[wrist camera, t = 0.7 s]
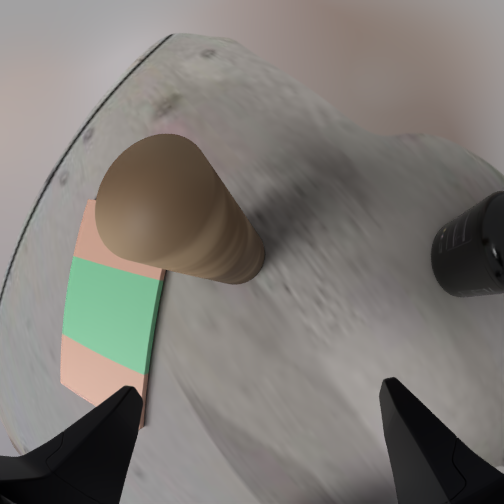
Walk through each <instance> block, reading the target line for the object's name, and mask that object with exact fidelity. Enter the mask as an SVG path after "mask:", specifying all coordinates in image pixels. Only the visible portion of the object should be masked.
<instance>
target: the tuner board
mask: <svg viewBox="0 0 504 504" xmlns="http://www.w3.org/2000/svg"><path fill="white" fill-rule="evenodd" d="M95 204H96V200H89V199H88V201H87V205H86V208H85V211H84V215H83V219H82V222H81V226H80V230H79V234H78V238H77V242H76V246H75V251H74V255H73V260H72V265H71V270H70V276H69V282H68V288H67V295H66V302H65V310H64V319H63V330H62V345H61V383H62V384H63V385H65V386H66V387H67V388H69V389H70V390H72V391H73V392H75V393H76V394H78V395H79V396H81V397H82V398H84V399H85V400H87V401H88V402H90V403H92V404H93V405H95V406H96V407H97V406H98V405H99V404H101V403H102V402H103V401H105V400H106V399H107V398H109V397H110V396H111V395H113V394H114V393H115V392H116V391H118V390H119V389H120V388H122V387H123V386H125V385H128V386H133V387H135V388H136V390H137V391H138V393H139V394H140V396H141V397H142V399H143V409H142V414H141V420H140V425H139V430H140V429H141V428H143V425H144V412H145V401H146V391H147V382H148V373H149V365H150V358H151V351H152V344H153V337H154V331H155V325H156V319H157V313H158V307H159V302H160V297H161V292H162V286H163V281H164V277H165V272H166V270H165V269H161V268H157V267H153V266H149V265H145V264H141V263H137V262H133V261H129V260H126V259H123V258H120V257H118V256H116V255H115V254H113V253H112V252H111V251H110V250H109V249H108V248H107V247H106V246H105V245H104V243H103V241H102V240H101V238H100V236H99V233H98V230H97V227H96V221H95Z"/></svg>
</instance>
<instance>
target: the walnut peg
mask: <svg viewBox="0 0 504 504" xmlns="http://www.w3.org/2000/svg"><path fill="white" fill-rule="evenodd" d="M95 221H96V227H97V230H98V233H99V236H100V238H101V240H102V241H103V243H104V245H105V246H106V247H107V248H108V249H109V250H110V251H111V252H112V253H113V254H115V255H116V256H118V257H120V258H123V259H126V260H129V261H133V262H137V263H141V264H145V265H149V266H153V267H157V268H161V269H165V270H170V271H174V272H178V273H182V274H187V275H191V276H195V277H200V278H204V279H209V280H213V281H218V282H222V283H227V284H242V283H245V282H247V281H249V280H251V279H252V278H254V277H255V276H256V275H257V274H258V272H259V271H260V269H261V268H262V265H263V262H264V258H265V250H264V245H263V242H262V240H261V238H260V237H259V235H258V234H257V232H256V231H255V229H254V228H253V226H252V225H251V223H250V222H249V220H248V219H247V217H246V216H245V214H244V213H243V211H242V210H241V208H240V207H239V206H238V204H237V203H236V201H235V200H234V198H233V197H232V195H231V194H230V192H229V191H228V189H227V188H226V186H225V185H224V183H223V182H222V180H221V179H220V178H219V176H218V175H217V173H216V172H215V170H214V169H213V167H212V166H211V164H210V163H209V161H208V160H207V159H206V157H205V156H204V154H203V153H202V151H201V150H200V149H199V148H198V147H197V145H196V144H194V143H193V142H192V141H190V140H189V139H187V138H185V137H182V136H179V135H175V134H158V135H154V136H150V137H147V138H144V139H142V140H140V141H138V142H136V143H135V144H133V145H132V146H130V147H129V148H128V149H126V150H125V151H124V152H123V153H122V154H121V155H120V156H119V157H118V158H117V159H116V160H115V161H114V162H113V164H112V165H111V166H110V168H109V169H108V171H107V173H106V174H105V176H104V178H103V180H102V182H101V185H100V187H99V190H98V194H97V198H96V204H95Z"/></svg>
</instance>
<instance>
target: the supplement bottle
mask: <svg viewBox="0 0 504 504" xmlns="http://www.w3.org/2000/svg"><path fill="white" fill-rule="evenodd" d="M431 262H432V268H433V272H434V275H435V277H436V279H437V281H438V283H439V284H440V286H441V287H442V288H443V289H444V290H445V291H446V292H447V293H449V294H451V295H453V296H456V297H473V296H484V295H493V294H502V293H504V191H498V192H495V193H493V194H491V195H490V196H488V197H487V198H485V199H484V200H482V201H481V202H479V203H478V204H476V205H475V206H473V207H472V208H470V209H469V210H467V211H466V212H464V213H463V214H461V215H460V216H458V217H457V218H455V219H454V220H452V221H451V222H449V223H448V224H446V225H445V226H443V227H442V228H441V229H440V230H439V232H438V233H437V235H436V237H435V239H434V241H433V245H432V251H431Z"/></svg>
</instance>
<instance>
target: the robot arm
mask: <svg viewBox="0 0 504 504" xmlns="http://www.w3.org/2000/svg"><path fill="white" fill-rule="evenodd" d="M379 400H380V406H381V414H382V421H383V430H384V436H385V441H386V445H387V449H388V454H389V458H390V463H391V467H392V472H393V477H394V482H395V487H396V492H397V498H398V504H504V474H503V473H501V472H500V471H498V470H497V469H496V468H494V467H493V466H492V465H490V464H489V463H487V462H486V461H485V460H483V459H482V458H481V457H479V456H478V455H477V454H475V453H474V452H473V451H472V450H471V449H470V448H468V447H467V446H466V445H465V444H464V443H463V442H462V441H461V440H460V439H459V438H457V436H456V435H455V434H454V433H453V432H452V431H451V430H450V429H449V428H448V427H447V426H445V425H444V424H443V423H442V422H441V421H440V420H439V419H438V418H437V417H436V416H435V415H434V414H433V413H432V412H431V411H430V410H429V409H428V408H427V407H426V406H425V405H424V404H423V403H422V402H421V401H420V400H419V399H418V398H416V397H415V396H414V395H413V394H412V393H411V392H410V391H409V390H408V389H407V388H406V387H405V386H404V385H403V384H402V383H401V382H400V381H399V380H398V379H397V378H395V377H391V378H387V379H384V380H383V382H382V386H381V390H380V393H379ZM142 409H143V399H142V397H141V396H140V394H139V393H138V391H137V390H136V388H135V387H133V386H128V385H125V386H123V387H122V388H120V389H119V390H118V391H116V392H115V393H114V394H113V395H111V396H110V397H109V398H107V399H106V400H105V401H103V402H102V403H101V404H99V405H98V406H97V407H95V408H94V409H93V410H91V411H90V412H89V413H87V414H86V415H85V416H83V417H82V418H81V419H79V420H78V421H77V422H75V423H74V424H72V425H71V426H70V427H68V428H67V429H66V430H64V431H63V432H61V433H60V434H59V435H57V436H56V437H54V438H53V439H51V440H50V441H48V442H47V443H45V444H43V445H41V446H40V447H38V448H36V449H34V450H33V451H31V452H29V453H27V454H25V455H23V456H19V457H9V456H0V504H119V502H120V498H121V494H122V490H123V486H124V482H125V478H126V474H127V471H128V467H129V463H130V460H131V456H132V453H133V449H134V446H135V442H136V439H137V435H138V431H139V425H140V420H141V414H142Z"/></svg>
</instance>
